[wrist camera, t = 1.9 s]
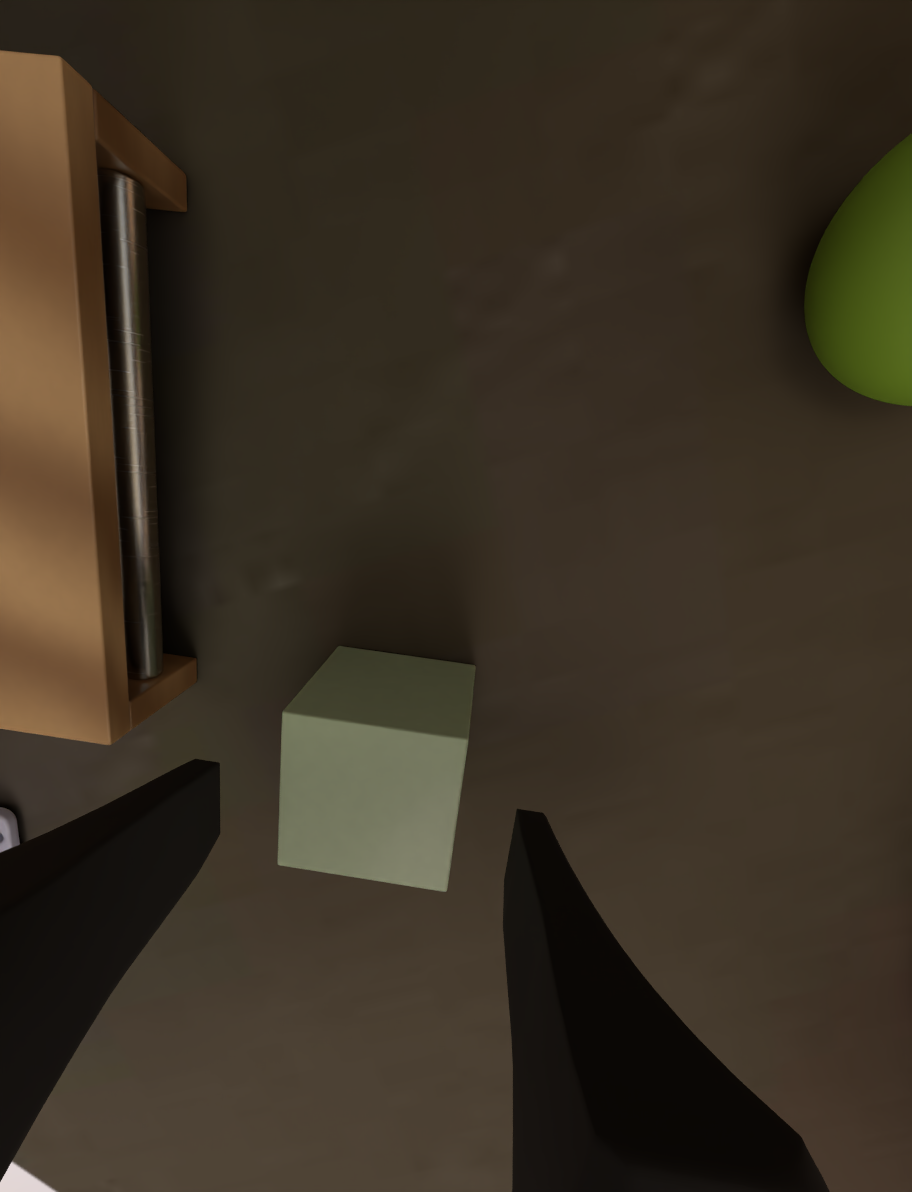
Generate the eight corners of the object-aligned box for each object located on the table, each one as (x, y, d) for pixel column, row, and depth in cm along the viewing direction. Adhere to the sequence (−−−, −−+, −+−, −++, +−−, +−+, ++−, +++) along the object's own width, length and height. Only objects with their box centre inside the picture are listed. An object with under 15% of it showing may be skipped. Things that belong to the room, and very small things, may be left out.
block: (458, 784, 17) (446, 893, 13) (331, 765, 17) (276, 865, 13) (475, 664, 16) (468, 739, 12) (338, 645, 16) (281, 711, 12)
